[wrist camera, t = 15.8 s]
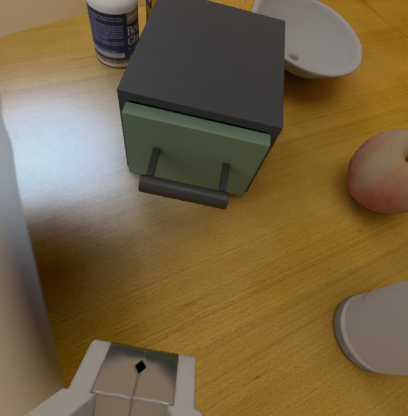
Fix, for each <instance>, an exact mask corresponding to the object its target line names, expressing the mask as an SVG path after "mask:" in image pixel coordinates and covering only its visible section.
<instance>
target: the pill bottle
mask: <svg viewBox="0 0 408 416" xmlns="http://www.w3.org/2000/svg"><path fill="white" fill-rule="evenodd" d="M86 2H87V8H88V14H89V19H90V24H91V30H92V35H93V41H94V46H95V51H96V54H97V57H98V58H99V60H100V61H102V62H103V63H104V64H106V65H109V66H112V67H127V66H128V63H129V61H130V59H131V57H132V54H133V52H134V50H135V47H136V45H137V43H138V41H139V25H138V3H137V0H86Z"/></svg>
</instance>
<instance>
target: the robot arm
mask: <svg viewBox="0 0 408 416" xmlns="http://www.w3.org/2000/svg"><path fill="white" fill-rule="evenodd" d="M195 381H196V358H195V356H189V355H183V354H176V353H170V352H164V351H158V350H152V349H146V348H145V349H144V348H139V347H134V346H129V345H124V344H119V343H114V342H107V341H102V340H98V339H94V340H93V342H92V343H91V344H90V346H89V348H88V350H87V352H86V354H85V356H84V358H83V360H82V362H81V364H80V366H79V368H78V370H77V372H76V374H75V376H74V378H73V380H72V382H71V384H70V386H69V388H68V389H63V388H62V389H61V390H59V391H58V392H57V393H55V394H54V395H52V396H51V397H49V398H48V399H47V400H45V401H44V402H42V403H41V404H40V405H38V406H37V407H35V408H34V409H32V410H31V411H30V412H28V413H27V414H25V415H24V416H203V415H202V413H201V411H200V410H195Z"/></svg>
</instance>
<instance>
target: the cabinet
mask: <svg viewBox="0 0 408 416" xmlns="http://www.w3.org/2000/svg"><path fill="white" fill-rule="evenodd" d="M285 23H286V21H284V20H280V19H277V18H273V17H269V16H265V15H261V14H257V13H253V12H250V11H246V10H242V9H238V8H234V7H230V6H226V5H223V4H219V3H215V2H211V1H207V0H156V2H155V4H154V7H153V9H152V11H151V13H150V16H149V18H148V20H147V22H146V25H145V27H144V29H143V32H142V34H141V36H140V38H139V41H138V43H137V45H136V47H135V50H134V52H133V54H132V57H131V59H130V61H129V63H128V66H127V68H126V70H125V72H124V75H123V77H122V79H121V82H120V84H119V86H118V88H117V93H118V100H119V107H120V114H121V121H122V129H123V136H124V143H125V150H126V157H127V165H128V166H129V164H128V156H127V149H126V141H125V134H124V127H123V119H122V110H123V108H124V105H125V103H126V102H131V103H135V104H139V105H140V103H143V104H147V105H152V106H156V107H160V108H165V109H169V110H173V111H178V112H182V113H186V114H191V115H195V116H199V117H204V118H208V119H212V120H216V121H221V122H225V123H229V124H234V125H238V126H242V127H247V128H251V129H255V130H258V132H261V133H265V134H269V135H271V141H270V147H269V149H268V151H267V153H266V155H265V156H264V158H263V160H262V162H261V164H260V165H259V167H258V169H257V171H256V173H255V174H254V176H253V178H252V180H251V182H250V183H249V185H248V187H247V189H246V191H245V192H247V190H248V188H249V187H250V185H251V183H252V181H253V179H254V178H255V176H256V174H257V172H258V171H259V169H260V167H261V165H262V164H263V162H264V160H265V158H266V157H267V155H268V153H269V151H270V149H271V148H272V146H273V144H274V142H275V141H276V139H277V137H278V135H279V134H280V132H281V130H282V128H283V97H284V60H285Z"/></svg>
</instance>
